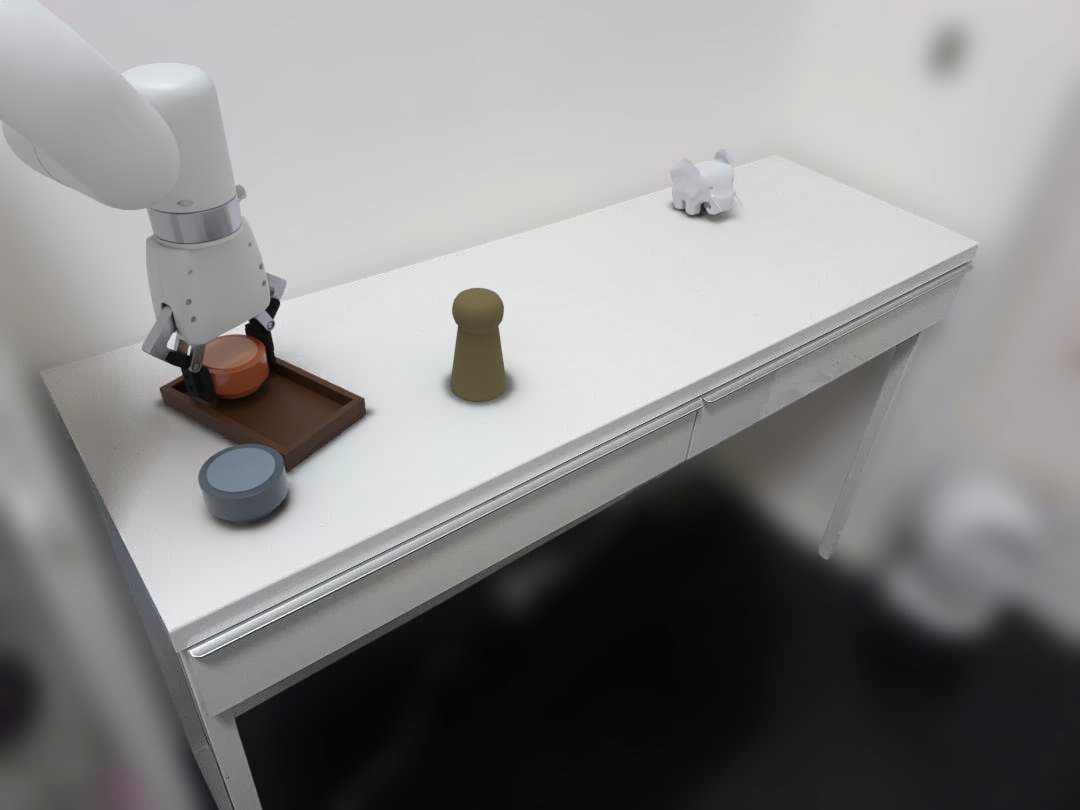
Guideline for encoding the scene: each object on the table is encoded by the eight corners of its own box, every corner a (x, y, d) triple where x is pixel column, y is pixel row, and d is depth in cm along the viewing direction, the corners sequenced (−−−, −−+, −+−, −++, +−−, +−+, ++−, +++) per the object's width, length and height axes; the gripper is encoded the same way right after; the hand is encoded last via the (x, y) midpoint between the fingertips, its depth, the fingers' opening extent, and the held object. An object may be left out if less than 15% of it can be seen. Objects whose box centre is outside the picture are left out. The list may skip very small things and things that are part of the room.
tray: (287, 471, 74) (284, 455, 73) (163, 403, 82) (158, 387, 80) (366, 413, 82) (364, 398, 80) (246, 356, 89) (242, 340, 88)
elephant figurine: (707, 232, 119) (718, 174, 113) (651, 203, 126) (659, 147, 121) (751, 218, 123) (763, 161, 118) (695, 190, 131) (704, 136, 125)
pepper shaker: (493, 363, 90) (493, 275, 83) (515, 393, 85) (518, 303, 79) (441, 375, 87) (438, 286, 81) (462, 407, 83) (460, 315, 76)
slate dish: (245, 543, 67) (236, 509, 65) (190, 508, 70) (179, 475, 68) (307, 495, 72) (301, 462, 70) (252, 464, 75) (245, 432, 73)
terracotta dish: (231, 413, 79) (223, 381, 76) (184, 388, 81) (175, 356, 79) (285, 379, 83) (280, 347, 81) (239, 356, 86) (232, 325, 84)
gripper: (244, 175, 79) (273, 330, 89) (78, 239, 67) (135, 408, 78) (299, 194, 75) (323, 352, 86) (136, 265, 64) (187, 437, 75)
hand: (234, 377), depth 82 cm, fingers closed on terracotta dish, 7 cm apart
